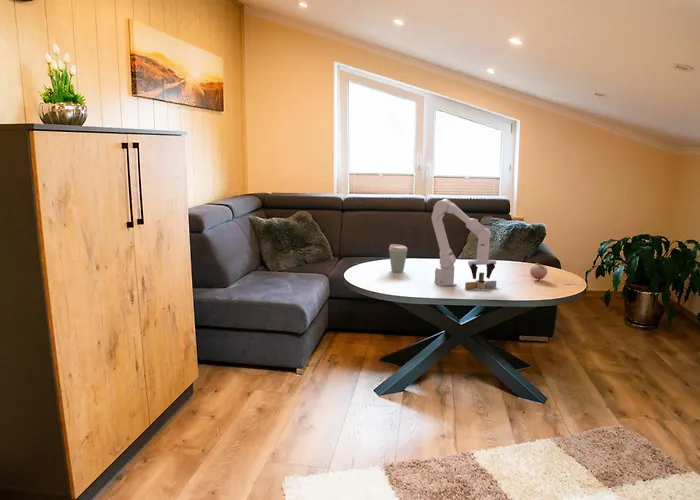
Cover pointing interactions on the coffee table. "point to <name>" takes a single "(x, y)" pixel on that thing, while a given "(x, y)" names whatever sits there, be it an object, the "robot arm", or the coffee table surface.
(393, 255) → the disposable coffee cup
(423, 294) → the coffee table surface
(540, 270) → the decorative fruit
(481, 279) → the hinge pin
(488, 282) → the hinge
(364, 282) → the coffee table surface
